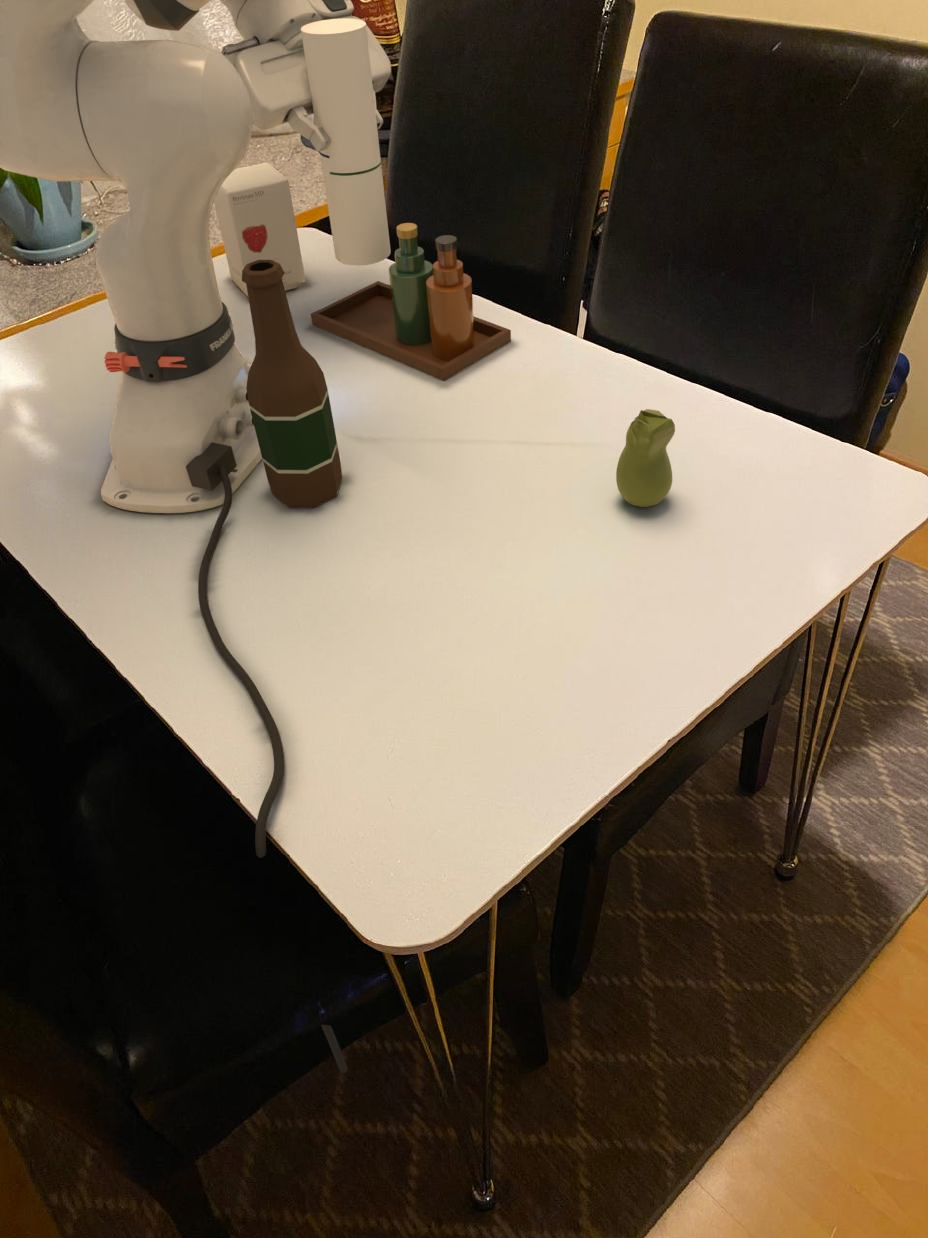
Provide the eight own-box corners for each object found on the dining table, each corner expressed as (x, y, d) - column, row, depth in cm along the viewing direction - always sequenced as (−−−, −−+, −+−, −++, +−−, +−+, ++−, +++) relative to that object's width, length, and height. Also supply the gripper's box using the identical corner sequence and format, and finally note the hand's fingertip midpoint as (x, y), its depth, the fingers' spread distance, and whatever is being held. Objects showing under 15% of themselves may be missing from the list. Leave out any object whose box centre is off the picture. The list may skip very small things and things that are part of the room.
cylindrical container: (369, 237, 119) (341, 15, 102) (401, 253, 115) (378, 23, 98) (324, 254, 116) (288, 27, 99) (356, 270, 112) (324, 37, 94)
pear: (638, 478, 94) (646, 393, 87) (680, 498, 91) (692, 412, 84) (604, 502, 91) (610, 416, 84) (646, 524, 88) (656, 437, 81)
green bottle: (434, 345, 115) (425, 235, 105) (392, 345, 116) (379, 235, 106) (440, 325, 119) (432, 217, 109) (400, 325, 120) (388, 217, 110)
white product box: (249, 301, 129) (224, 192, 118) (230, 279, 134) (205, 173, 124) (308, 285, 131) (289, 177, 121) (287, 264, 137) (267, 159, 127)
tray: (511, 344, 116) (511, 329, 114) (444, 385, 109) (443, 369, 108) (379, 295, 128) (378, 280, 127) (312, 328, 122) (310, 313, 120)
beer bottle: (266, 476, 97) (211, 256, 81) (336, 461, 99) (296, 241, 82) (277, 517, 92) (221, 290, 75) (351, 501, 93) (312, 274, 77)
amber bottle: (472, 361, 112) (466, 248, 102) (428, 360, 113) (418, 248, 103) (477, 339, 116) (472, 229, 106) (435, 339, 116) (426, 229, 107)
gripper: (217, 28, 96) (292, 144, 98) (357, -9, 106) (423, 97, 108) (203, 70, 101) (275, 179, 103) (338, 31, 111) (401, 131, 113)
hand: (352, 136), depth 106 cm, fingers closed on cylindrical container, 7 cm apart
